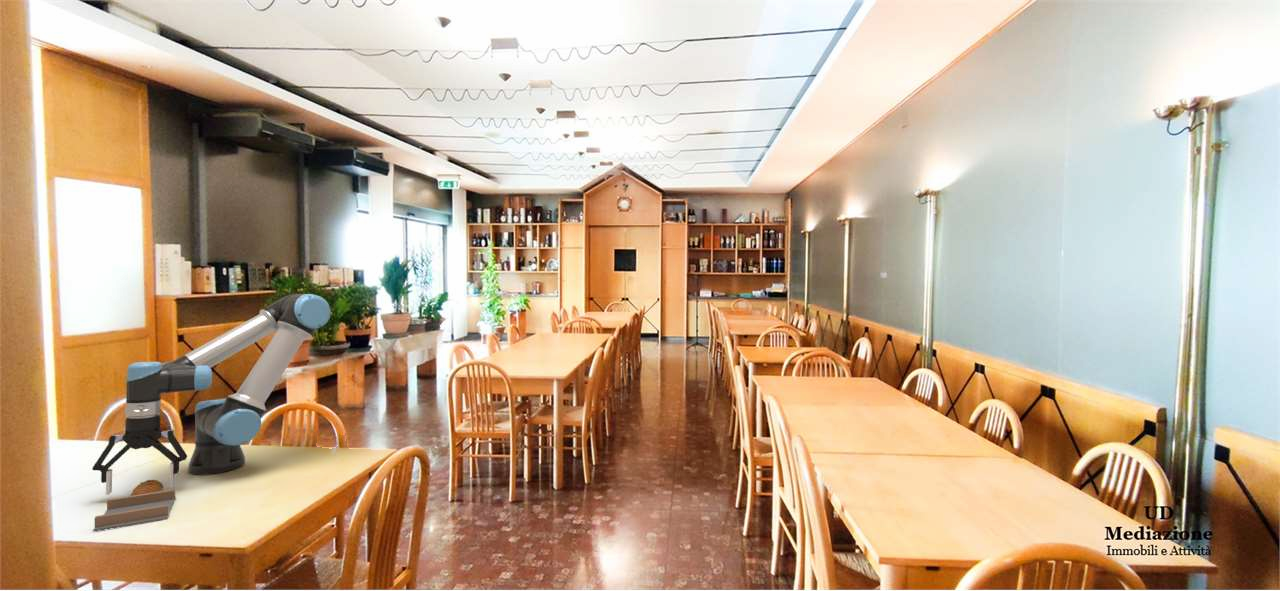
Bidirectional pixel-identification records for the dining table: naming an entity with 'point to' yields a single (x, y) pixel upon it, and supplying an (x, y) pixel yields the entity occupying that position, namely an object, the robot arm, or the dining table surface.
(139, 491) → the pastry
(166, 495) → the pastry holder
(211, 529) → the dining table surface
